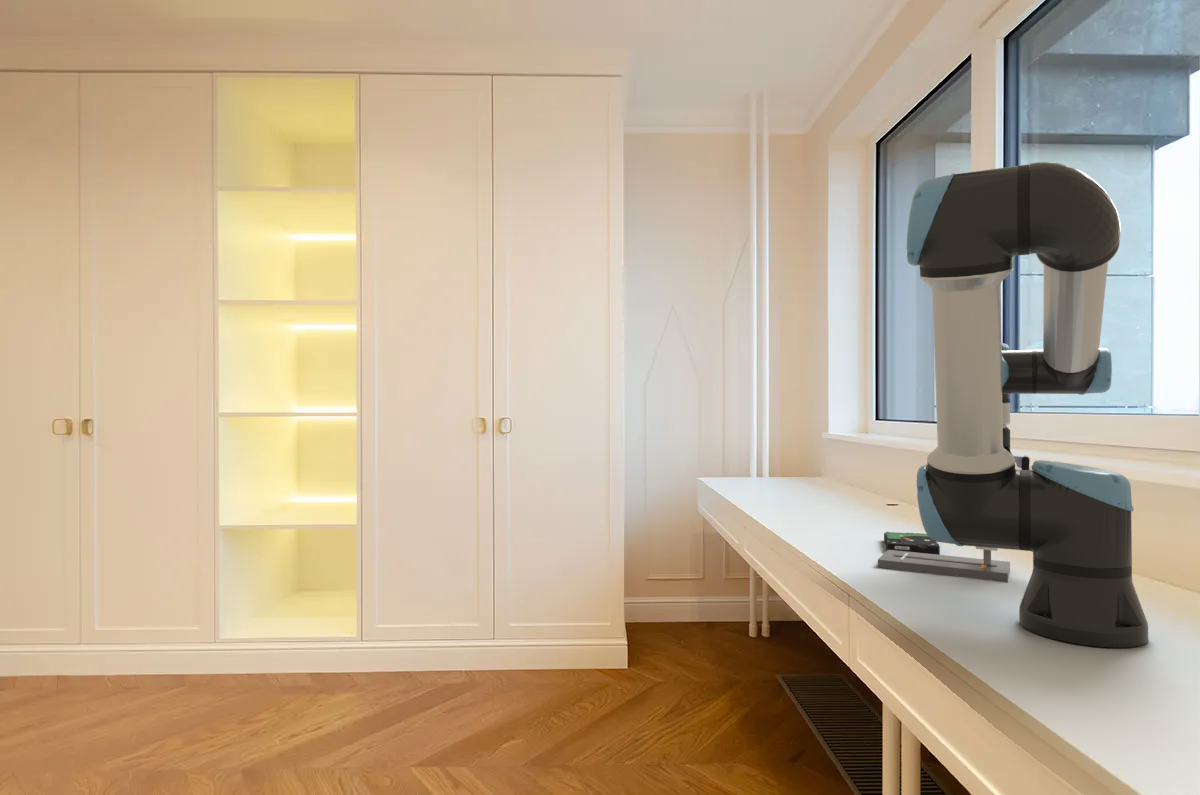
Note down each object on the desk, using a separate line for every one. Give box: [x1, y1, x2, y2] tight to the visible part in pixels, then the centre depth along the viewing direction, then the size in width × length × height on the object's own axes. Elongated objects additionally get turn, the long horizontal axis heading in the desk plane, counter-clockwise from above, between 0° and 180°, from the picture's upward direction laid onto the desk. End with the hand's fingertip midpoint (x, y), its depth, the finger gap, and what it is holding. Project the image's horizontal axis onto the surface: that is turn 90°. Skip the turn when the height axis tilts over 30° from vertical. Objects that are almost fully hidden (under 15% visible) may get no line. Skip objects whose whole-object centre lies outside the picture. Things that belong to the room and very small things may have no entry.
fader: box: [975, 546, 999, 565], centre depth 138 cm, size 5×4×10 cm
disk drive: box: [883, 531, 941, 555], centre depth 161 cm, size 10×3×15 cm
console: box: [877, 549, 1011, 583], centre depth 142 cm, size 11×22×2 cm, turn 59°
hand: (987, 544), depth 138 cm, fingers open, 10 cm apart
